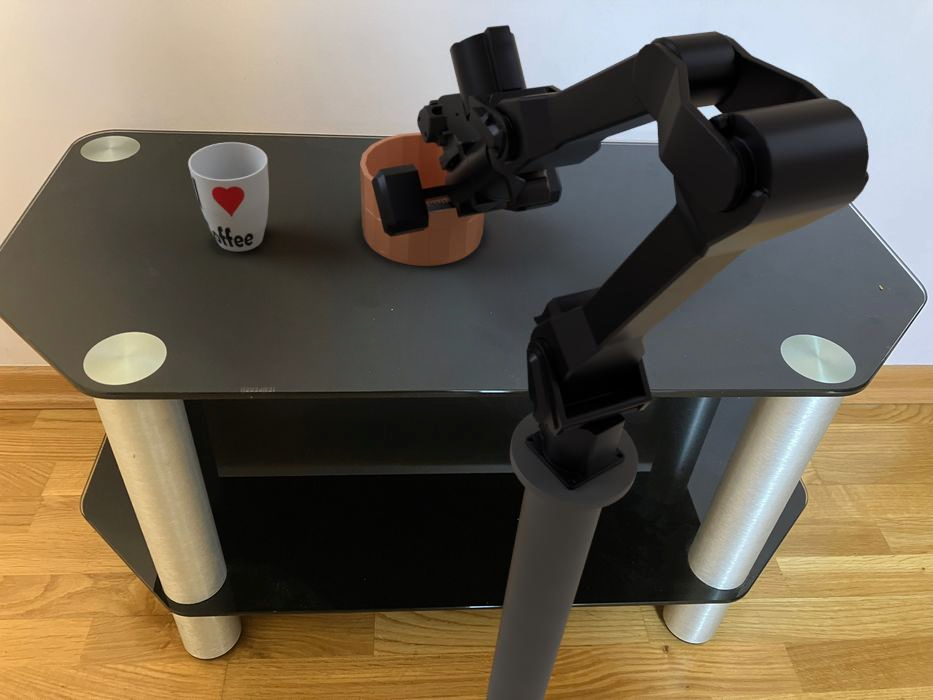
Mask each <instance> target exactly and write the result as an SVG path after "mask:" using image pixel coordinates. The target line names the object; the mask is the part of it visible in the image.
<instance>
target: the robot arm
mask: <svg viewBox="0 0 933 700" xmlns="http://www.w3.org/2000/svg"><path fill="white" fill-rule="evenodd" d="M449 53H450V58H451V62H452V66H453V70H454V75H455V79H456V83H457V87H458V91H459V92H458V93H456V92H455V93H450V94H444V95H441V96H440V97H438V98H437V99H431V100H429V103H428V104H427V105H423V107H422V108H421V109H420V110H419V111H418V115H417V117H416V118H417V119H416V121H417V122H416V123H417V124H416V125H417V127H418V130H419V133H421V135H422V138H423V140H424V142H425V143H436V144H437V146H438V147H440V146H442V148H443V151H444V153H443V154H442V155H441V156H440V157H439V161H440V165H441V169H442V170H447V175H446V178H445V185H442V186H436V187H430V188H424V189H422V185H421V181H420V177H419V173H418V170H417V169H416V167H415V166H414V164H408V165H402V166H396V167H390V168H383V169H379V171H378V172H377V173H376V174H375V176H374V178H373V179H372V185H373V189H374V193H375V197H376V201H377V205H378V209H379V214H380V218H381V222H382V226H383V230H384V232H385V233H386V234H388V235H389V236H391V237H393V236H398V235H403V234H408V233H413V232H418V231H423V230H424V229H426V228H427V227H429V213H435V212H440V211H445V210H451V209H456V211H457V215H458V218H460V217H466V216H471V215H476V214H481V213H484V214H486V213H491V212H496V211H502V210H505V211H509V212H515V213H521V212H525V211H531V210H535V209H542V208H545V207H552V206H554V205H555V204H558V202H560V199H561V197H562V194H563V193H562V192H563V186H562V182H561V178H560V173H559V170H558V168H562V167H569V166H574V165H580V164H582V163H584V162H585V161H586V160H589V158H590V157H592V156H593V155H595V154H596V153H598V152H599V151H600V149H601V148H602V142H603V141H605V140H606V139H607V138H609V137H613V136H615V135H618V134H621V133H624V132H627V131H631V130H633V129H636V128H639V127H642V126H645V125H648V124H651V123H653V122H656V124H657V125H656V127H657V128H656V129H657V147H658V158H659V160H660V162H661V163H662V164H663V165H664V167H665V168H666V169H667V170H668V171H669V173H671V175H672V176H673V177H672V179H673V187H674V195H675V196H674V197H675V204H674V206H673V207H672V208H671V209H670V210H669V211H668V212H667V214H665V216H664V217H663V218H662V219H661V220H660V221H659V223H658V224H656V226H655V227H653V229H652V230H651V231H650V232H649V233H648V234H647V236H646V237H645V238H644V239H643V240H642V241H641V242H640V243H638V245H637V247H635V249H634V250H633V251H632V252H630V254H629V255H628V256H627V257H626V259H624V261H623V262H621V264H620V265H619V266H618V267H617V268H616V269H615V270H614V271H613V272H612V274H610V276H609V277H608V278H607V279H606V280H605V281H604V282H603V284H601V286H598V287H593V288H588V289H585V290H581V291H576V292H572V293H568V294H567V293H566V294H564V295H563V294H562V295H559V296H554V297H553V298H552V299H550V300H549V301H548V302H547V303H546V305H545V307H544V309H543V311H542V313H541V314H539V315H537V316H534V317H533V322H534V323H535V324H536V326H534V328H533V329H532V331H531V334H530V337H529V342H528V344H527V348H526V367H527V369H526V370H527V374H526V375H527V391H528V395H529V396H528V397H529V399H530V401H531V403H532V404H533V411H532V412H533V415H532V416H533V418H534V419H535V421H536V422H539V424H538V427H539V428H540V430H539V431H537V432H535V433H533V434H531V435H530V436H528V437H526V440H525V444H526V445H527V446H528V448H529V449H530V450H531V451H532V452H533V453H534V454H535V455H536V456H537V457H538V458H539V459H540V460H541V461H542V462H543V464H544V465H545V466H546V467H547V468H548V469H549V470H550V471H551V472H552V473H553V474H554V475H555V476H556V477H557V479H558V480H559V481H560V482H561V483H562V484H563V485H564V486H565V487H566V488H567V489H568V490H575V489H577V488H578V487H580V486H582V485H584V484H586V483H587V482H589V481H591V480H593V479H594V478H596V477H598V476H600V475H601V474H603V473H605V472H607V471H608V470H610V469H612V468H614V467H615V466H617V465H619V464H621V463H622V462H624V459H625V455H624V453H623V452H622V451H621V450H620V449H619V448H618V447H617V445H618V442H619V439H620V435H621V432H622V429H624V425H625V422H626V418H625V417H624V416H623V415H627V414H629V413H633V412H640V411H644V410H645V409H646V408H647V407H648V406H649V405H650V403H651V402H652V401H653V396H652V392H651V388H650V384H649V379H648V376H647V372H646V368H645V364H644V359H643V357H644V355H645V354H646V352H647V347H646V343H645V339H644V338H645V335H647V334H648V333H649V332H650V331H652V329H654V328H655V327H656V326H658V324H660V323H661V322H662V321H664V319H666V318H667V317H668V316H669V315H670V314H672V313H673V312H674V311H675V310H677V309H678V308H679V307H680V306H681V305H683V303H685V302H686V301H687V300H688V299H690V298H691V297H692V296H693V295H695V294H696V293H697V292H698V291H699V290H701V289H702V288H703V287H704V286H705V285H706V284H708V282H710V281H711V280H712V279H713V278H714V277H717V275H718V274H720V273H721V272H722V271H723V270H724V269H725V268H726V267H728V266H729V265H730V264H732V263H733V262H734V261H735V260H736V259H738V258H739V257H740V256H741V255H742V254H743V253H745V252H746V251H747V250H748V249H750V248H752V247H754V246H757V245H760V244H762V243H766V242H767V241H769V240H772V239H775V238H777V237H780V236H783V235H786V234H788V233H790V232H793V231H797V230H798V229H801V228H804V227H806V226H808V225H811V224H812V223H814V222H817V221H818V220H821V219H823V218H825V217H826V216H828V215H829V216H830V215H831V214H833V213H835V212H837V211H839V210H841V209H843V208H846V207H847V206H849V205H850V204H851V203H853V202H855V200H856V199H857V198H858V197H859V195H861V193H862V192H863V191H864V189H865V188H866V186H867V184H868V182H869V179H870V174H869V172H868V165H869V160H870V153H869V143H868V137H867V134H866V131H865V129H864V126H863V123H862V120H861V119H860V118H859V117H858V115H857V114H856V113H855V112H854V111H853V109H852V108H851V107H849V105H846V104H845V103H843V102H842V101H840V100H838V99H833V98H829V97H828V96H826V94H824V93H823V92H822V91H821V90H820V89H819V88H817V86H815V85H814V84H813V83H812V82H810V81H809V80H807V79H805V78H802V77H800V76H798V75H796V74H794V73H791V72H789V71H787V70H786V69H783V68H780V67H778V66H776V65H773V64H771V63H769V62H767V61H765V60H763V59H761V58H759V57H756V56H754V55H752V54H751V53H750V52H749V51H747V49H745V48H744V47H743V45H741V44H740V43H739V42H738V41H737V40H736V39H734V38H733V37H731V36H728V35H727V34H723V33H720V32H718V31H717V30H713V31H704V32H695V33H688V34H679V35H670V36H669V35H668V36H661V37H656V38H655V39H653V40H652V41H651V42H650V43H646V44H645V45H643V46H642V47H641V48H640V49H639V50H638V52H636V53H634V54H631V55H629V56H627V57H626V58H624V59H622V60H620V61H618V62H615V63H614V64H612V65H610V66H607V67H605V68H604V69H602V70H600V71H598V72H596V73H594V74H592V75H590V76H588V77H586V78H584V79H582V80H580V81H578V82H576V83H574V84H572V85H569V86H568V87H566V88H563V89H560V88H559V87H558V86H555V85H553V84H551V85H542V86H535V87H527V83H526V79H525V74H524V71H523V70H524V69H523V67H522V62H521V58H520V53H519V48H518V45H517V41H516V37H515V34H514V33H513V32H511V28H510V26H509V24H505V25H493V26H487V27H486V29H485V30H484V31H483V32H479V33H476V34H473V35H471V36H468V37H465V38H464V39H462V40H460V41H458V42H454V43H452V45H451V46H450V47H449ZM712 106H713V107H715V109H717V111H718V112H720V113H718V114H716V115H713V116H711V117H710V118H709V119H708V118H707V117H706V115H705V114H703V112H702V111H701V110H700V109H699V108H703V107H705V108H706V107H712ZM444 198H449V199H450V201H449V199H447V200H446V201H445V200H443V203H442V201H441V200H440V201H439V203H438V201H436V202H435V203H434V202H432V203H431V204H430V202H429V203H428V206H427V204H426V202H428V201H433V200H439V199H444ZM529 441H533V442H529ZM617 456H619V457H621V458H618V457H617ZM569 483H572V484H573V485H570V484H569Z"/></svg>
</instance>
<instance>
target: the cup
mask: <svg viewBox="0 0 933 700" xmlns="http://www.w3.org/2000/svg"><path fill="white" fill-rule="evenodd" d="M268 161H269V160H268V155H267V154H266V152H265V151H264V150H262V148H260V147H258V146H255V145H252V144H249V143H244V142H235V141H230V142H227V141H226V142H219V143H213V144H210V145H207V146H204V147H201V148H200V149H198V150H196V151H195V152H193V153H192V154H191V156H190V157H189V159H188V163H187V165H188V168H189V171H190V176H191V180H192V184H193V187H194V191H195V195H196V199H197V202H198V204H199V207H200V210H201V212H202V214H203V217H204V219H205V221H206V224H207V226H208V229H209V230H210V232H211V234H212V235H213V237H214V238H215V240H216V242H217V243H218V245H219V247H221V248H222V249H224V250H227V251H230V252H246V251H250V250H253V249H255V248H256V247H258V246H260V244H261V243H262V242H263V240H264V235H265V231H266V227H267V223H268V216H269V203H270V202H269V201H270V199H269V198H270V184H269V183H270V182H269V164H268V163H269V162H268Z"/></svg>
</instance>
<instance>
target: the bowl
mask: <svg viewBox="0 0 933 700" xmlns="http://www.w3.org/2000/svg"><path fill="white" fill-rule="evenodd" d="M443 153H444V151H443V148H442V146H440V147H438V146H437V144H436V143H425V142H424V140H423V138H422V135H421V132H411V133H410V132H409V133H400V134H396V135H392V136H387V137H384V138H382V139H380V140H378V141H376V142H375V143H373V144H370V146H369V147H368V148H367V149H366V150H365V151H363V153H362V155H361V159H360V163H359V172H360V202H361V204H360V205H361V228H362V234H363V238H364V240H365V242H366V243H367V245H368V246H369V247H370V248H371V249H372V250H373V251H374V252H375V253H377V254H379V256H382V257H383V258H386V259H388V260H390V261H393V262H396V263H399V264H402V265H403V264H404V265H408V266H416V267H434V266H442V265H447V264H451V263H454V262H457V261H460V260H462V259H464V258H466V257H467V256H469V255H470V254H472V253H473V252H474V251H475V250H476V249H477V248H478V247H479V246H480V244H481V242H482V238H483V233H484V225H485V223H484V221H485V213H481V214H476V215H471V216H466V217H460V218H458V215H457V211H456V209H451V210H445V211H440V212H435V213H429V227H427V228H426V229H424V230H423V231H418V232H413V233H408V234H403V235H398V236H393V237H391V236H389V235H388V234H386V233H385V232H384V230H383V226H382V222H381V218H380V214H379V209H378V205H377V201H376V197H375V193H374V189H373V185H372V179H373V178H374V176H375V174H376V173H377V172H378V171H379V169H383V168H390V167H396V166H402V165H408V164H414V166H415V167H416V169H417V170H418V173H419V177H420V181H421V185H422V189H424V188H430V187H436V186H442V185H445V178H446V175H447V170H442V169H441V165H440V161H439V157H440V156H441V155H442V154H443ZM447 199H449V198H444V199H439V200H433V201H428V202H426V204H427V206H428V203H429V202H430V204H431V203H432V202H434V203H435V202H436V201H438V203H439V201H440V200H441V201H442V203H443V200H445V201H446V200H447ZM449 201H450V199H449Z"/></svg>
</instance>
